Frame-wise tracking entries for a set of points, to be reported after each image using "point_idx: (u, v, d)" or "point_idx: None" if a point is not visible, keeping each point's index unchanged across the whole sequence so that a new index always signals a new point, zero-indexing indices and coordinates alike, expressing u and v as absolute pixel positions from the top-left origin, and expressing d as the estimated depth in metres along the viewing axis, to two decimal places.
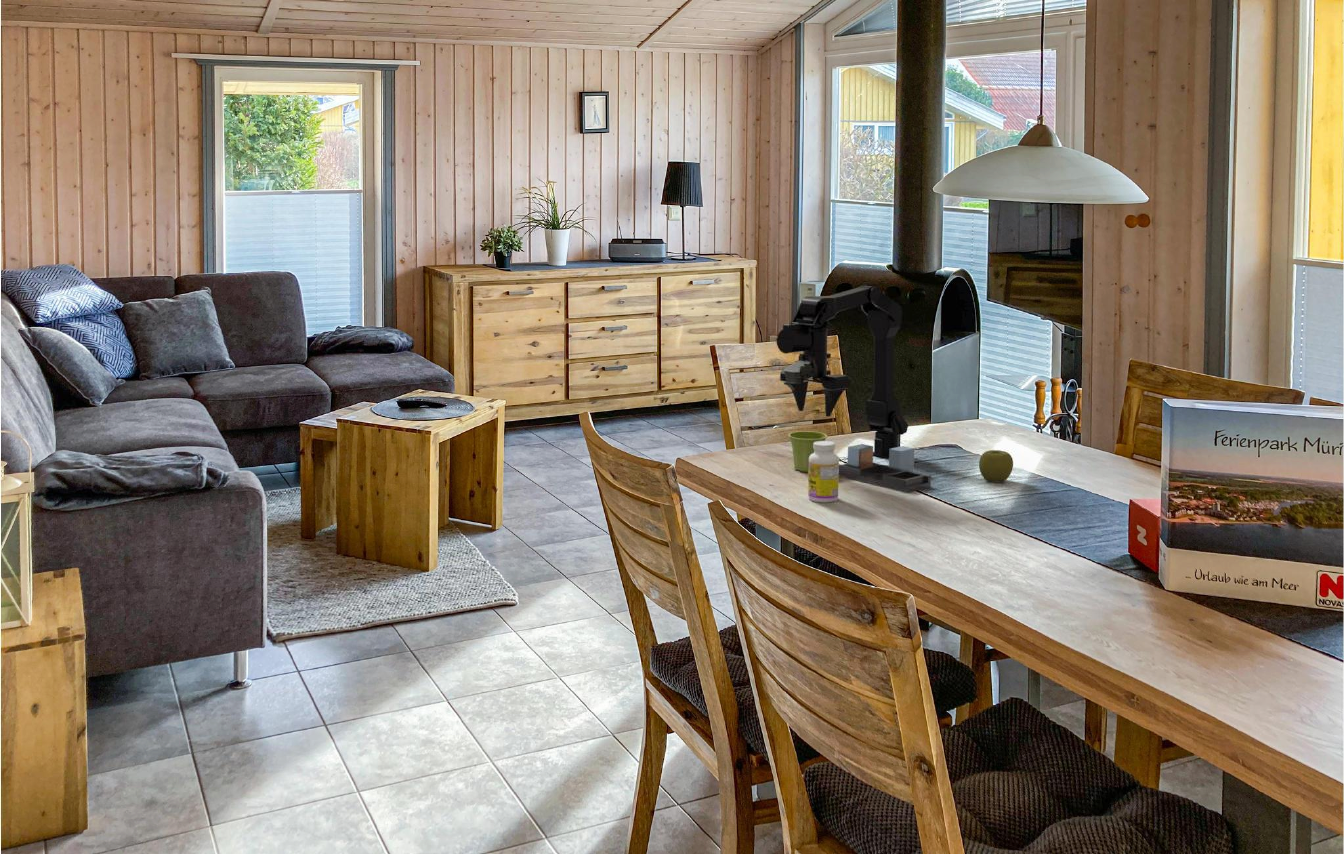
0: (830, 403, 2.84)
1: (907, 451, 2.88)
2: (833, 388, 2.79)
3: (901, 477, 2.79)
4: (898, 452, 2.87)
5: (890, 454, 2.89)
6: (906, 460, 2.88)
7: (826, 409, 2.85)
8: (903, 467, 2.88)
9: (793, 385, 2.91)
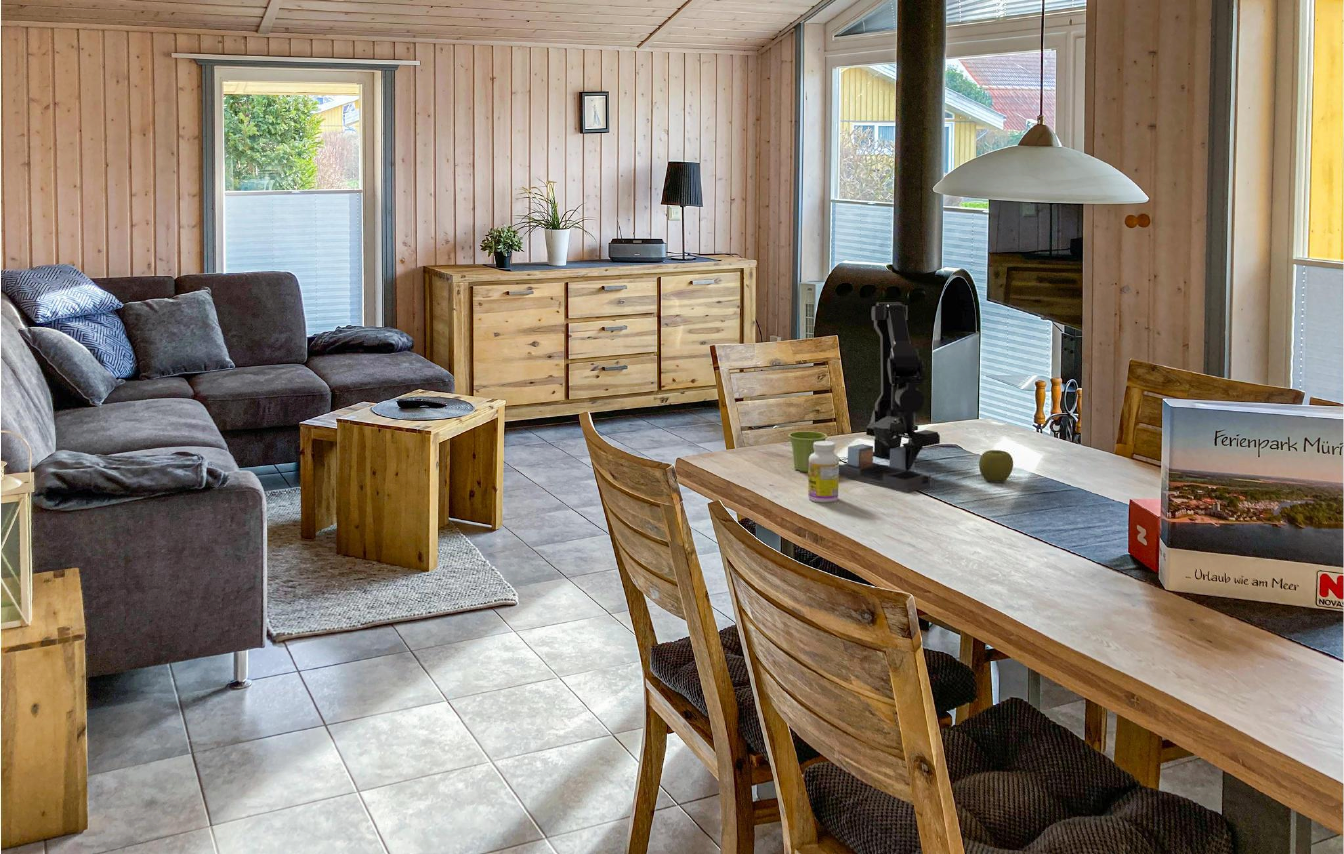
0: (910, 457, 2.87)
1: None
2: (923, 445, 2.80)
3: (901, 477, 2.79)
4: (899, 452, 2.87)
5: (891, 453, 2.89)
6: None
7: (906, 463, 2.88)
8: (904, 467, 2.88)
9: (887, 441, 2.90)
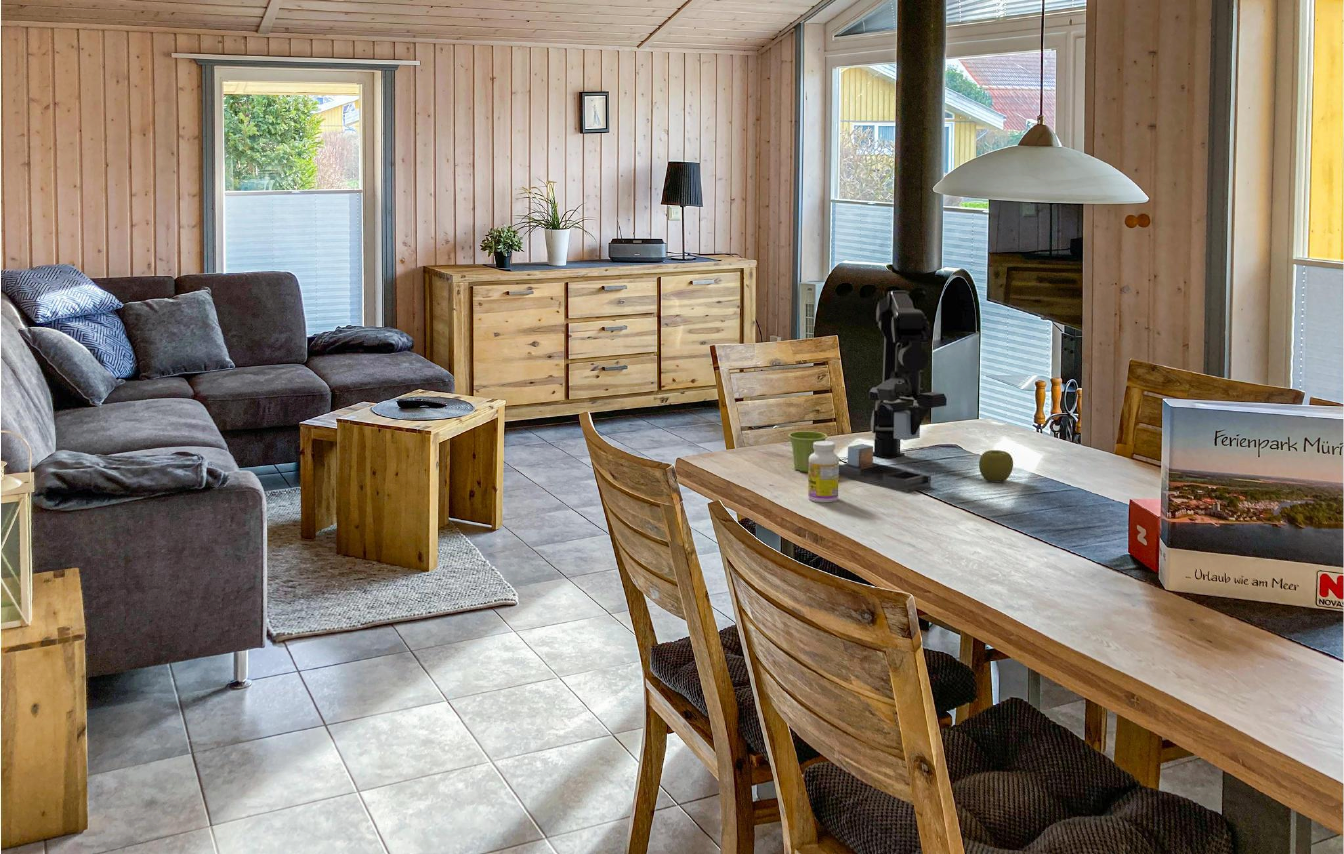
0: (916, 421, 2.74)
1: None
2: (929, 406, 2.67)
3: (901, 477, 2.79)
4: (903, 415, 2.74)
5: (895, 418, 2.76)
6: None
7: (912, 427, 2.75)
8: (909, 431, 2.75)
9: (892, 405, 2.77)
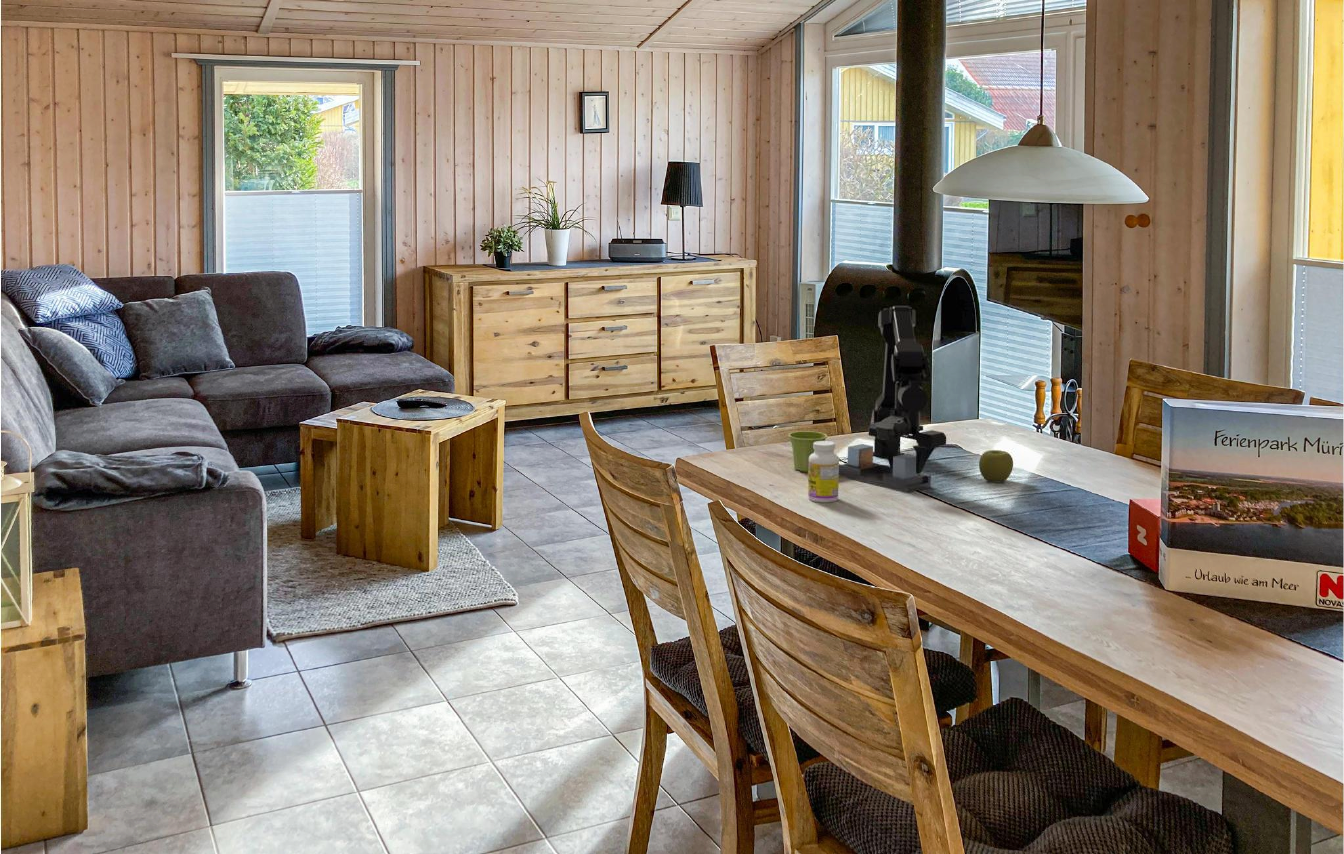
0: (921, 460, 2.71)
1: (912, 459, 2.74)
2: (929, 446, 2.66)
3: None
4: (902, 460, 2.73)
5: (894, 462, 2.75)
6: (910, 469, 2.74)
7: (917, 466, 2.72)
8: (908, 476, 2.74)
9: (885, 441, 2.77)
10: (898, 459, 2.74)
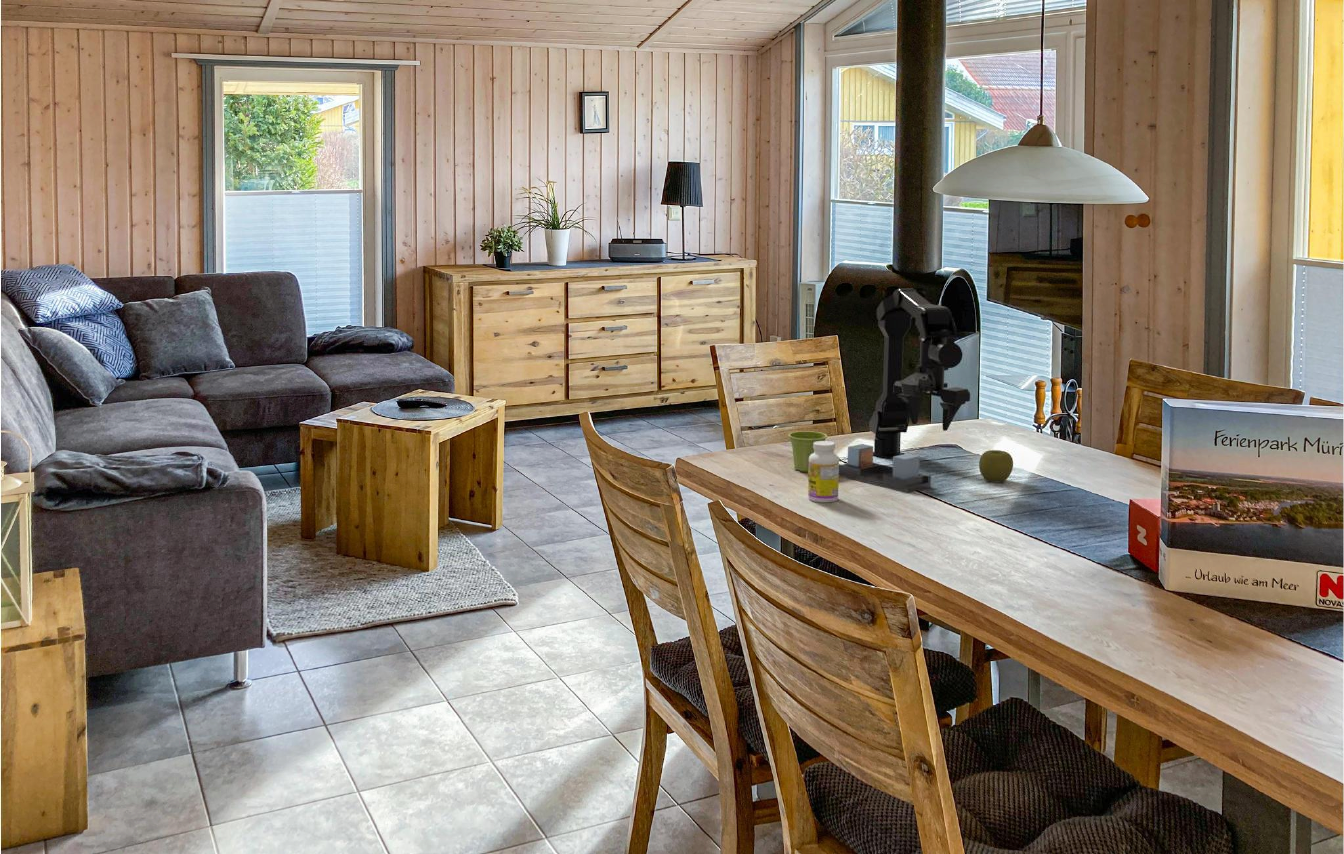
0: (948, 417, 2.75)
1: (912, 459, 2.74)
2: (953, 402, 2.70)
3: None
4: (902, 460, 2.73)
5: (894, 462, 2.75)
6: (910, 469, 2.74)
7: (943, 423, 2.76)
8: (908, 476, 2.74)
9: (907, 397, 2.82)
10: (898, 459, 2.74)
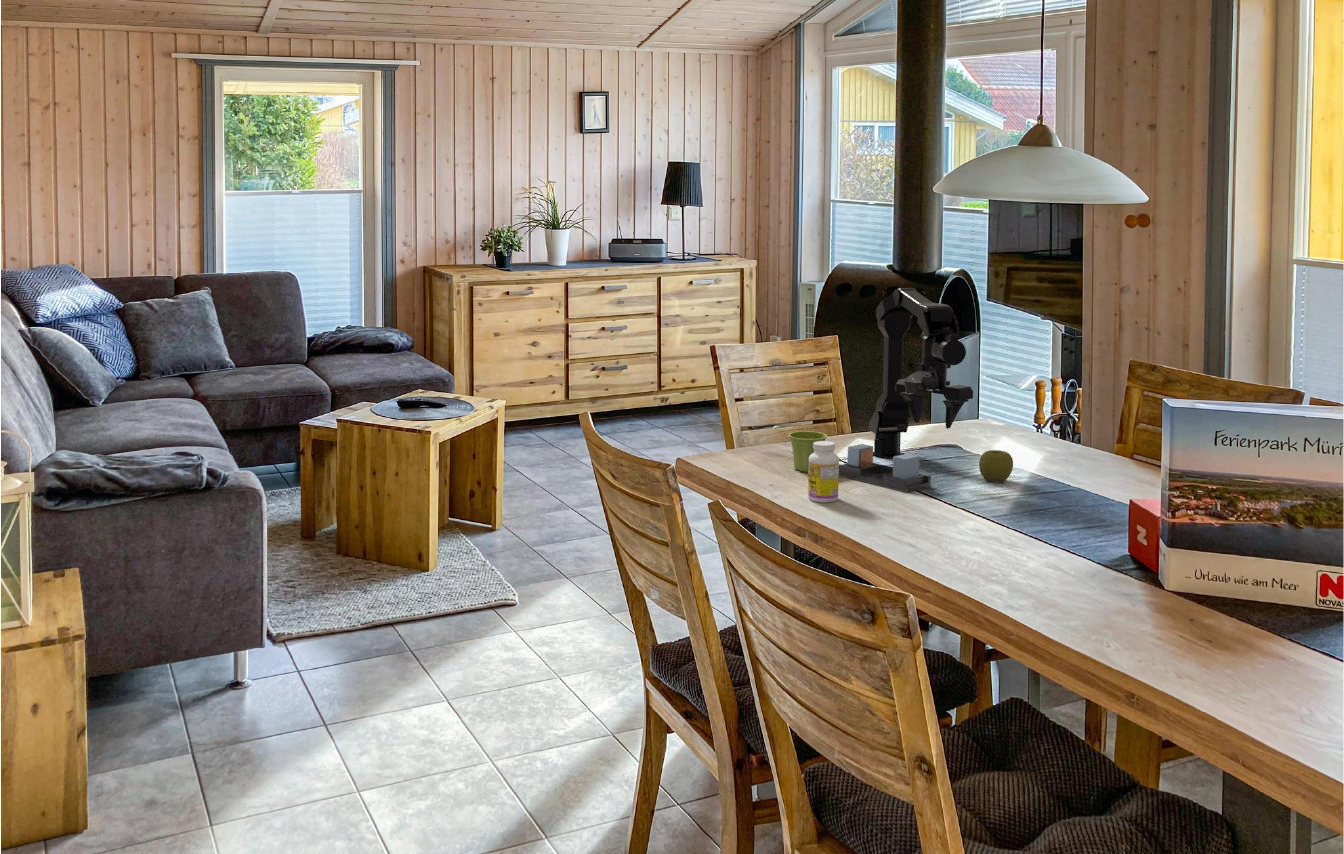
0: (951, 415, 2.76)
1: (912, 459, 2.74)
2: (956, 399, 2.71)
3: None
4: (902, 460, 2.73)
5: (894, 462, 2.75)
6: (910, 469, 2.74)
7: (947, 421, 2.76)
8: (908, 476, 2.74)
9: (910, 396, 2.82)
10: (898, 459, 2.74)
